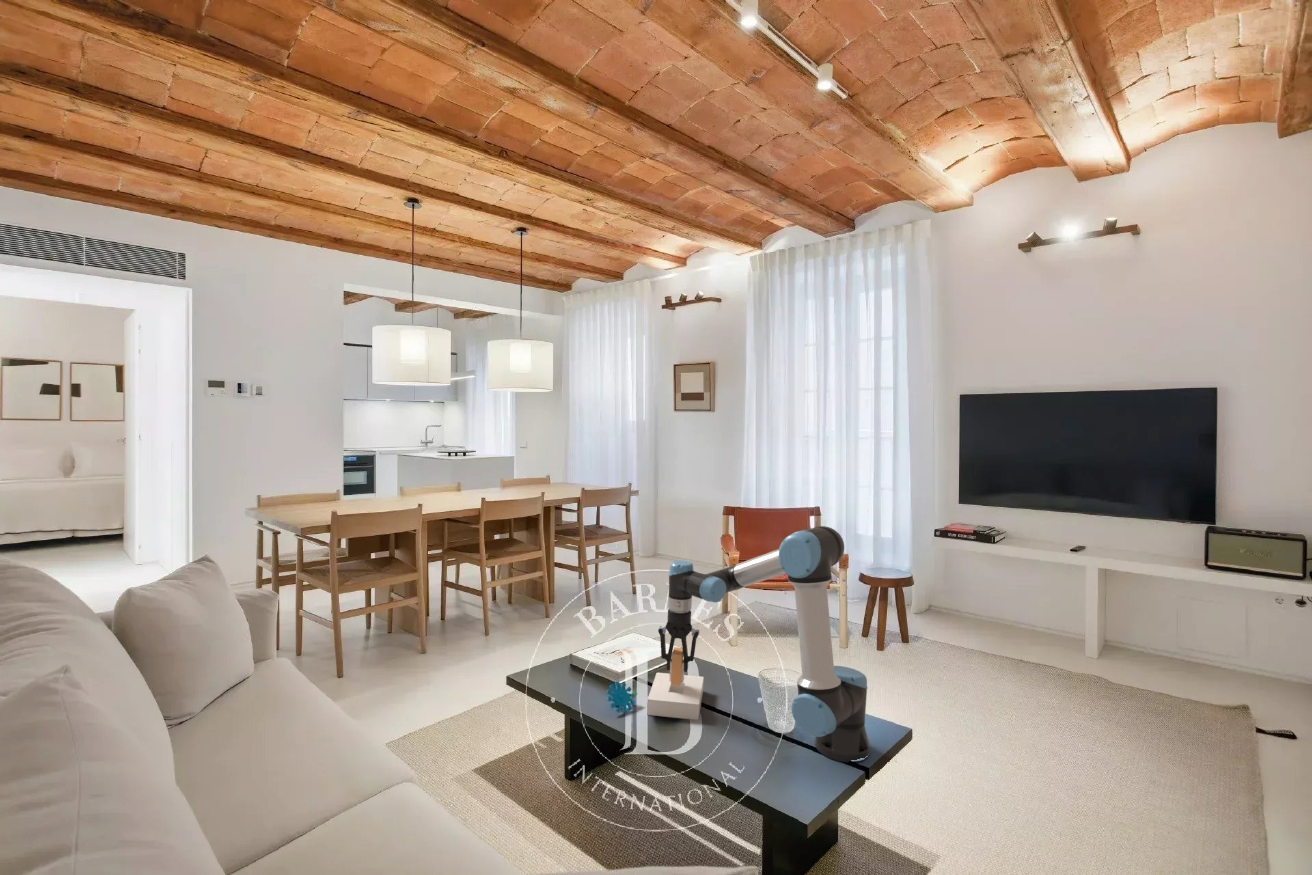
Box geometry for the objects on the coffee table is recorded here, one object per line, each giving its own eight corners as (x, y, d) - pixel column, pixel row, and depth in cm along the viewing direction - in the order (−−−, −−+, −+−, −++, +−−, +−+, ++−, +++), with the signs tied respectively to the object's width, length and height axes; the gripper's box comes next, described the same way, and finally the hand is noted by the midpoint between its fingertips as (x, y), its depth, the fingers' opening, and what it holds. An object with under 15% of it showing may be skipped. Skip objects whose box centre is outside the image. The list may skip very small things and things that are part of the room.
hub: (698, 719, 205) (698, 704, 205) (647, 714, 207) (647, 699, 207) (703, 691, 225) (703, 676, 225) (656, 686, 227) (656, 672, 227)
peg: (682, 677, 218) (683, 647, 218) (680, 685, 213) (681, 655, 212) (673, 676, 219) (674, 647, 218) (671, 684, 213) (672, 654, 212)
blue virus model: (613, 713, 204) (605, 681, 210) (604, 721, 208) (596, 689, 213) (642, 709, 211) (634, 678, 216) (633, 716, 214) (625, 686, 220)
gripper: (653, 611, 211) (650, 682, 213) (703, 615, 209) (700, 687, 211) (656, 603, 219) (653, 672, 221) (705, 607, 216) (702, 677, 218)
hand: (676, 680), depth 216 cm, fingers closed on peg, 3 cm apart
